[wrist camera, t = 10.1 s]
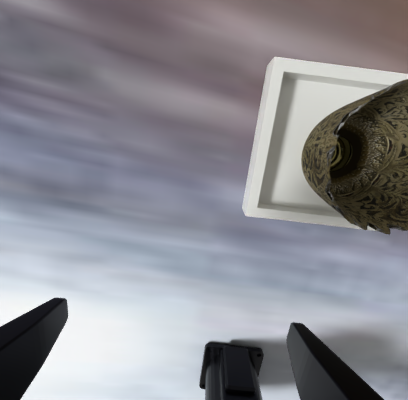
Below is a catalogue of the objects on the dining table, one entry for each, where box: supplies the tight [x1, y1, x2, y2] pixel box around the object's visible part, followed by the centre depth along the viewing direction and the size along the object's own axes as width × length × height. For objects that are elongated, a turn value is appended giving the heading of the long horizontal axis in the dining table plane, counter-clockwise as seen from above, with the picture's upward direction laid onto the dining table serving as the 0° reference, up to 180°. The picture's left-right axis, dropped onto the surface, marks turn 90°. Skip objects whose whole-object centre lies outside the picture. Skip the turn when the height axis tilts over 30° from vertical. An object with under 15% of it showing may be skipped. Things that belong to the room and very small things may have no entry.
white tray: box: [242, 57, 408, 231], centre depth 18 cm, size 12×12×2 cm
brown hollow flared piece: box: [301, 79, 408, 234], centre depth 14 cm, size 8×7×8 cm
